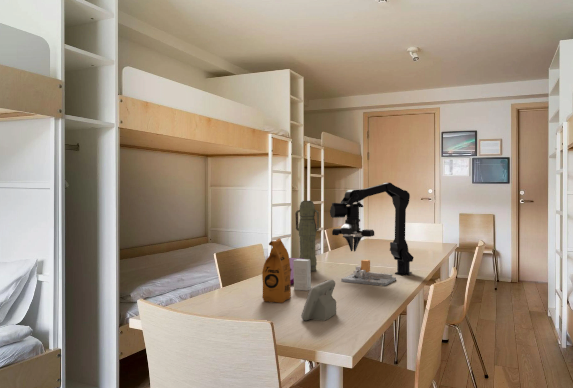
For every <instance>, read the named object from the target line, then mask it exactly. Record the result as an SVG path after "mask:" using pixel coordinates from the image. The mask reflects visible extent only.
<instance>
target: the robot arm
mask: <svg viewBox="0 0 573 388" xmlns="http://www.w3.org/2000/svg"><path fill="white" fill-rule="evenodd" d="M381 193H385V194H387V195H388V196H389V197H390V198H391V199H392V204H393V206H394V209H395V211H394V213H395V214H394V238H393V241H390V243H389V251H390V254H391V256H393V260H394V261H396V262H397V263H396V265H397V269H396V270H397V271H395V272H394V274H395V275H405V276H408V275H411V274H413V272H412V271H410V270H411V269H410V268H411V267H410V266H411V265H410V263H412V262H413V261H414V256H413V255H412V253H410V251H409V245H408V243H407V240H406V222H407V221H406V220H407V219H406V216H407V215H406V214H407V211H406V210H407V208H408V205H409V203H410V200H411V199H410V198H411V195H410V193H409V192H408V190H405V189H403V188H401V187H399V186H396V185H394V184H393V183H392V182H382V183H381V184H378V185H373V186H369V187H366V188H362V189H361V188H359V189H349V190H346V191H345V194H344V197H343V198H342V199H341V201H340V202H331V206H330V209H329V215H330V218H332V219H334V218H335V219H336V218H337V219H338V218H339V219H341V218H346V219H345V222H344V224H342V226H340V227H339V228H334V229H333V228H332V229H333V230H331V231H332V233H331V234H332V236H340V235H342V238H344V239H345V240H346V242H347V244H348V247H349V250H350V252H356V251H357V248H358V246H359V243H360V242H361V239H362V238H364V237H367V238H369V237H370V238H371V237H374V236H375V231H374V229H362V230H361V228H360V222H361V218H360V208H364V205H363V204H362V203H361V202H360V201H363V200H364V199H366V198H369V197H371V196H375V195H379V194H381Z"/></svg>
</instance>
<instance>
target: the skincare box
mask: <svg viewBox="0 0 573 388" xmlns="http://www.w3.org/2000/svg"><path fill="white" fill-rule="evenodd" d="M293 263H294V283H293V290H295V291H306V292H307V291H308V292H309V291H310V289H311V288H312V285H311V284H312V275H311V273H312V271H311V264H310V260H306V259H296V260H294V261H293Z"/></svg>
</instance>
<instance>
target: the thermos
mask: <svg viewBox="0 0 573 388" xmlns="http://www.w3.org/2000/svg"><path fill="white" fill-rule="evenodd" d="M314 203H315V202H314V201H312V200H302V201H300V204H299V210H296V212H295V214H294V215H295V229H296V231H297V232H298V238H299V257H298V258H304V259H306V260H310V264H311V272H316V271H317V265H318V263H317V256H316V236H317V232H318V231H319V230H320V216H319V215H320V213H319V211H318V210H317V209H315V208H316V206H315V204H314ZM315 214H316V215H315ZM315 216H316V219H315ZM299 217H300V218H299ZM315 220H316V221H315Z"/></svg>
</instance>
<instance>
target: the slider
mask: <svg viewBox="0 0 573 388" xmlns="http://www.w3.org/2000/svg"><path fill="white" fill-rule="evenodd" d="M360 266H361V271H360V277H363V275H362V273H365V272H371V260H370V259H362V260H360Z"/></svg>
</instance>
